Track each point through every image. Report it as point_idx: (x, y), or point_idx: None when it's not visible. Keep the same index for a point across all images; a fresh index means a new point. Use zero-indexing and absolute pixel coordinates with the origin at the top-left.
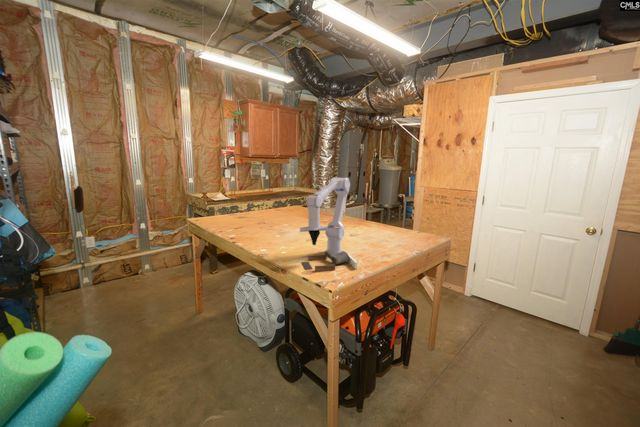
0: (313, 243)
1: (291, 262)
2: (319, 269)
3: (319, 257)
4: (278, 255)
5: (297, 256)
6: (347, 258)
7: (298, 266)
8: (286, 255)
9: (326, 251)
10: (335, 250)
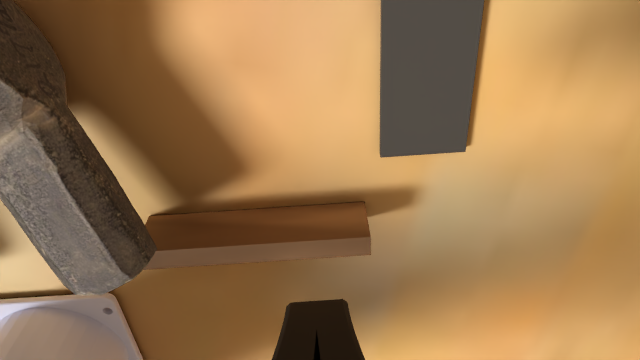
0: (344, 324)
1: (574, 173)
2: None
3: (232, 227)
4: (617, 347)
5: (453, 312)
6: None
7: (545, 29)
8: (546, 341)
9: (115, 265)
10: (23, 346)
